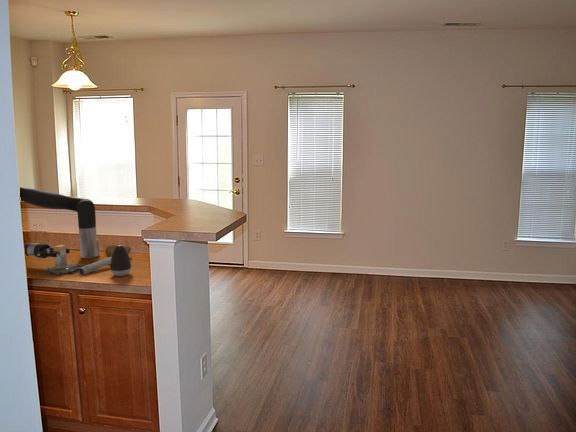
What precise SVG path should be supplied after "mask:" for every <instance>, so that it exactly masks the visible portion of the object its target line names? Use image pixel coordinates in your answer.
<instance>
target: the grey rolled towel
mask: <svg viewBox="0 0 576 432" xmlns="http://www.w3.org/2000/svg"><path fill="white" fill-rule="evenodd" d="M110 262H111V257H109V258H108V257H107V258H104V259H101V260H98V261H95V262H93V263H90V264H85V265H84V266H81V268H79V271H78V273H79V275H81V276H85V275H87V274H90V273H92V272H94V271H96V270H99V269H101V268H103V267H106V266H108V265H109V264H110Z"/></svg>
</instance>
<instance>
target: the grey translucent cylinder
mask: <svg viewBox="0 0 576 432" xmlns="http://www.w3.org/2000/svg"><path fill="white" fill-rule="evenodd" d="M53 247H54V253H57V257H53V258H54V266H55V267H59V268H62V267H65V266H67V264H68V259H67V258H68V257H67V253H66V249H67V247H66V245H65V244H58V245H54V246H53Z"/></svg>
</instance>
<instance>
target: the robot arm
mask: <svg viewBox="0 0 576 432" xmlns="http://www.w3.org/2000/svg"><path fill="white" fill-rule="evenodd" d="M19 187H20V197H21V201H20V202H22V203H25V204H29V205H31V206H35V207H39V208H45V209H50V210H66V211H67V210H69V211H73V212H77V224H78V236H79V238H78V239H79V249H80V258H82V259H92V258H93V259H94V258H97V257H98V256H100V244H99V243H100V242H99V238H98V237H97V236H98V235H97V234H98V233H97V219H96V218H97V217H96V206H95V204H94V202H93V201H92V200H91V199H89V198H79V197H72V196H68V195H63V194H60V193H57V192H53V191H47V190H44V189H37V188H27V187H21V186H19ZM24 244H25V254H26V256H25V257H32V258H37V259H38V258H39V259H47V258H54V257H57V253H54V247H51V246H50V245H49V244H47V243H38V242H37V243H36V242H34V243H33V242H26V241H25V240H24ZM70 253H71V251H70V249H69V248H66V254H70Z"/></svg>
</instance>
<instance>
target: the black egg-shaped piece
mask: <svg viewBox="0 0 576 432" xmlns="http://www.w3.org/2000/svg"><path fill="white" fill-rule="evenodd" d="M129 254H130V253H129ZM129 254H128V252H127V250H126V249H125V247H124V246H121V245H119V246H116V247H115V249H114V250H113V253H112V257H111V262H110V265H109V270H111V273H112V275H114V276H116V277H125V276H127V275H129V274H130V272H131V269H132V261H131V258H130V255H129Z"/></svg>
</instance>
